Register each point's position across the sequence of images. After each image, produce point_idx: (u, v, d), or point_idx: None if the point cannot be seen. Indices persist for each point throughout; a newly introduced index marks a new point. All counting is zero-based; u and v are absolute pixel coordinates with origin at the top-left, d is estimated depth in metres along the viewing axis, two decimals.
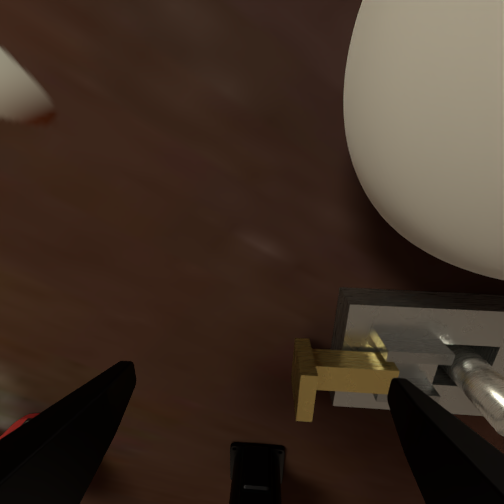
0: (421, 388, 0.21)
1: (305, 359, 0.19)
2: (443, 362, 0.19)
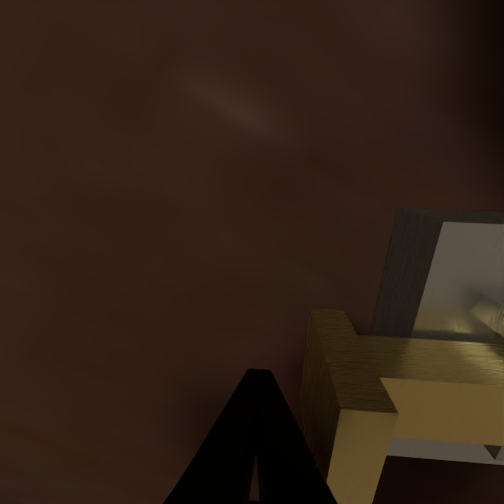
0: None
1: (345, 358, 0.07)
2: None
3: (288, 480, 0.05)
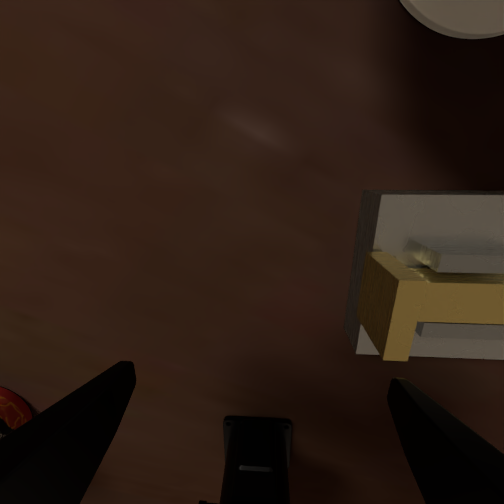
0: None
1: (394, 267, 0.13)
2: None
3: None
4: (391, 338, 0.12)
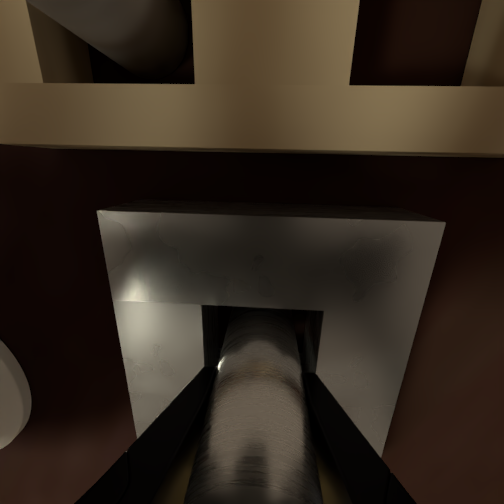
0: None
1: None
2: None
3: (366, 486, 0.05)
4: None
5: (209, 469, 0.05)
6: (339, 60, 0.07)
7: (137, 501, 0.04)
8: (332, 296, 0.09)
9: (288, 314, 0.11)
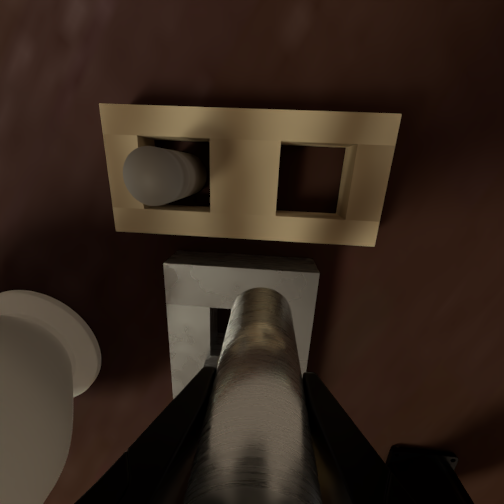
0: None
1: None
2: None
3: (366, 486, 0.05)
4: None
5: (208, 470, 0.05)
6: (271, 206, 0.17)
7: (137, 501, 0.04)
8: None
9: (288, 315, 0.11)
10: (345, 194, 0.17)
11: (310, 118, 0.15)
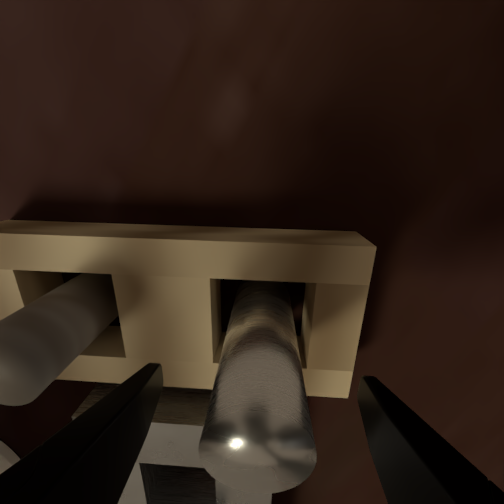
0: None
1: None
2: None
3: (470, 495, 0.05)
4: None
5: (222, 403, 0.06)
6: (205, 352, 0.12)
7: (35, 492, 0.05)
8: None
9: (286, 297, 0.12)
10: (306, 329, 0.13)
11: (247, 251, 0.10)
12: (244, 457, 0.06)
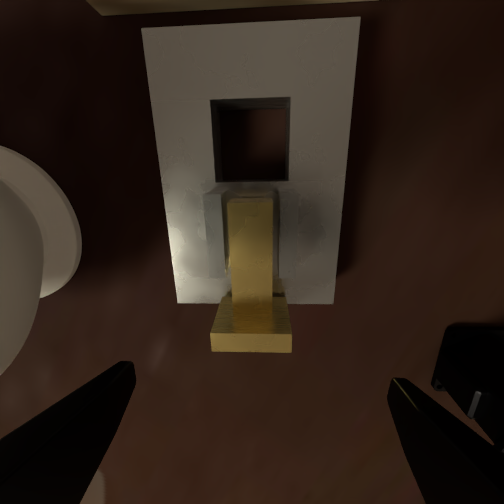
0: None
1: None
2: (217, 206, 0.14)
3: None
4: (267, 349, 0.14)
5: None
6: None
7: None
8: (295, 83, 0.13)
9: None
10: None
11: None
12: None
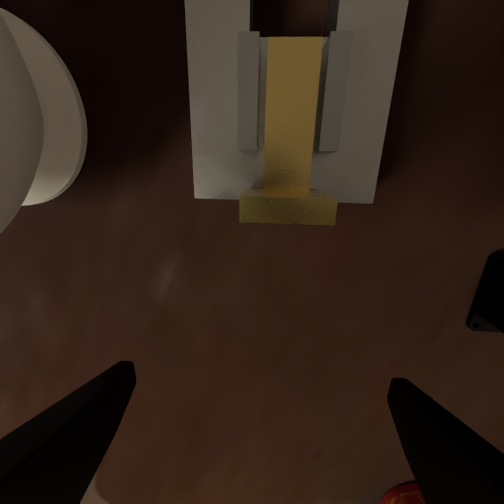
0: (324, 67, 0.12)
1: None
2: (253, 48, 0.12)
3: None
4: (306, 219, 0.12)
5: None
6: None
7: None
8: None
9: None
10: None
11: None
12: None
